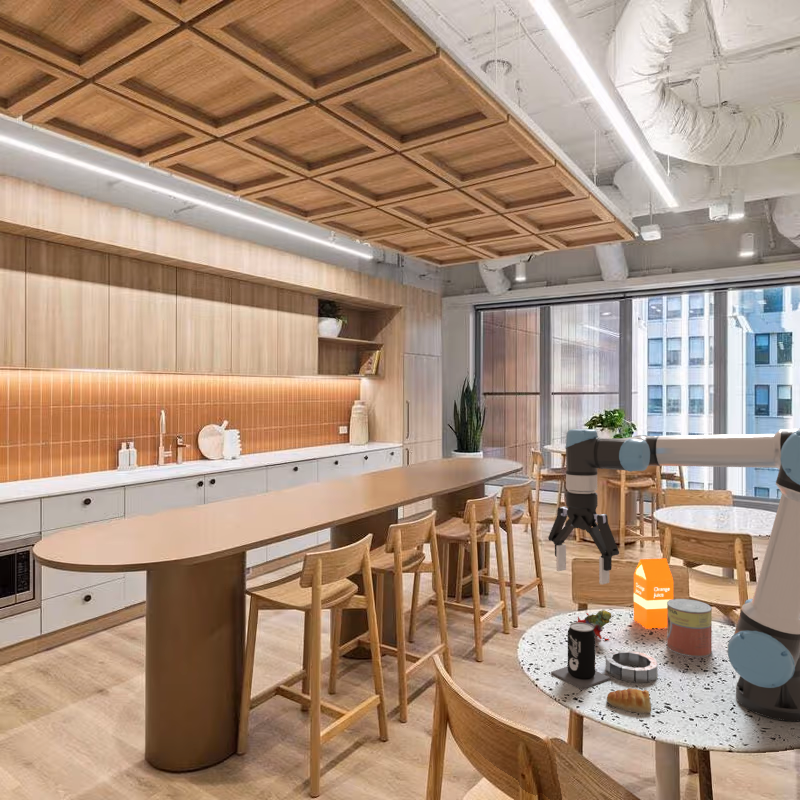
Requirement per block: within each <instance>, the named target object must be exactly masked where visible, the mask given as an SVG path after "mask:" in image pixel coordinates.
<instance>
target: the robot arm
mask: <svg viewBox="0 0 800 800" xmlns="http://www.w3.org/2000/svg"><path fill="white" fill-rule="evenodd" d="M565 438H566V439H565V447H564V449H565V467H566V468H565V469H566V470H565V489H566V490H567V491H566V492H565V506H559V507H558V508H557V512H556V513H557V514H556V517H555V520H554V523H553V525H552V526H551V527H552V528H551V530H550V532H549V535H548V536H547V537H548V541H550V542H552V543H553V544H554V556H555V557H556V559H555V560H556V572H562V571H566V570H567V544H566V542H565V541H566V540H567V538H568V537H569V536H570V535H571V533H572V532H573V531H574V529H579V530H582V531H586V532H587V534H589V535H590V537H591V539H592V541H593V542H594V544H595V546H596V547H597V549H598V551H599V553H600V554H601V555H600V556H599V557H598V559H599V560H598V563H599V564H598V566H599V567H598V568H599V570H598V571H599V574H598V575H599V577H598V579H599V582H598V584H599V585H606V584H609V583H610V571H612V566H613V564H612V558H613V557H614V556H619V555H620V551H619V548H618V545H617V543H616V540H615V537H614V535H613V532H612V530H611V528H610V525H609V518H608V516H609V515H608V514H607V513H603V514H602V513H600V514H598V513H597V508H598V506H599V505H598V493H597V492H596V491H598V469H599V470H600V469H601V470H605V469H606V470H614V471H628V472H630V473H632V472H643V471H646V470H647V469H648V467H664V466H665V467H705V468H706V467H711V468H713V467H715V468H716V467H717V468H719V467H720V468H763V469H764V468H766V469H767V468H771V469H778V473H777V478H776V480H775V485H776V486H777V488H778V489H779V491H780V493H781V496H780V499H779V502H778V506H777V510H776V514H775V517H774V521H773V524H772V529H771V531H770V536H769V539H768V543H767V547H766V548H765V549H766V550H765V554H764V557H763V561H762V565H761V568H760V572H759V576H758V579H757V582H756V587H755V590H754V593H753V594H754V595H753V597H752V598H748V599H746V600H745V602H744V604H742V606H741V608H740V613H739V616H738V620H737V623H736V625H735V630H734V633H733V635H732V636H731V638H730V639H729V640H728V644H727V657H728V660H729V662H730V664H731V666H732V669H734V670H735V672H736V673H737V675H739V678H738V681H737V683H736V686H735V698H736V700H737V701H738V703H739V704H740V705H741V706H743V707H744V708H746V709H748V710H749V711H751V712H753V713H756V714H758V715H760V716H763V717H766V718H770V719H774V720H779V721H784V720H787V721H786V722H800V428H798V427H797V428H787V429H786V428H785V429H783V428H781V429H779V430H778V431H777V432H776V433H758V434H757V433H756V434H755V433H751V434H750V433H749V434H748V433H747V434H744V433H743V434H739V433H738V434H698V435H697V434H692V435H691V434H689V435H688V434H687V435H680V434H679V435H643V434H641V435H635V436H630V437H622V438H613V437H612V438H604V437H599V435H598V431H597V430H596V429H591V428H589V429H588V428H587V429H585V428H576V429H574V428H573V429H569V430H567V432H566V437H565ZM567 517H568V519H567ZM566 520H567V521H566Z"/></svg>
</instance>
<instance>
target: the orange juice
mask: <svg viewBox="0 0 800 800" xmlns="http://www.w3.org/2000/svg"><path fill="white" fill-rule="evenodd" d="M668 563H669V562H668V559H667V558H665V557H664V558H641V559H639V561H638V564H637V566H636V568H635V571H634V573H633V621H634V620H635V621H634V622H636V621H637V622H638V623H640V624H641V625H642V627H643V626H644V627H645V628H644V627H643V628H644V629H646V630H653V629H652V628H658V629H666V628H665V627H667V601H669V600H671V599H674V578H673V574H672V572H671V569H670V565H669V564H668ZM637 622H636V623H637ZM638 623H637V624H638ZM640 624H639V625H640ZM641 625H640V626H641Z"/></svg>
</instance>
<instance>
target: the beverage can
mask: <svg viewBox="0 0 800 800" xmlns="http://www.w3.org/2000/svg"><path fill="white" fill-rule="evenodd" d="M593 629H594V628H593V626H592V625H590V624H587V623H581V622H577V621H575V622H572V623H570V624H569V628H568V630H567V666H568V672H569V673H570V675H571V676H573V677H575V678H578V679H591V678H592V677H593V676H594V675H595V671H596V635H595V632H594V630H593Z"/></svg>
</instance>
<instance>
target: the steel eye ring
mask: <svg viewBox="0 0 800 800" xmlns="http://www.w3.org/2000/svg"><path fill="white" fill-rule="evenodd" d="M627 665H631V666H627ZM632 666H637V667H632ZM605 671H606V673H608V674H609V675H610V676H612V677H614V678H615V679H618V680H621V681H624V682H629V683H635V684H638V683H640V684H641V683H642V684H643V683H644V684H645V683H646V684H648V683H651V682H653V681H656V680H657V678H658V661H657V660H656V659H655V658H654V657H652V656H650V655H648V654H646V653H643V652H640V651H633V650H630V649H629V650H628V649H625V650H622V649H620V650H613V651H611V652H610V651H609V652H607V654H606V655H605Z"/></svg>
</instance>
